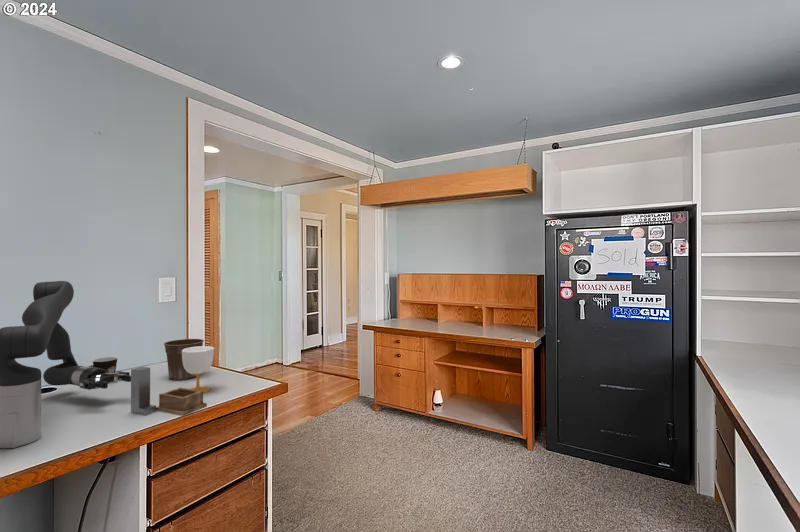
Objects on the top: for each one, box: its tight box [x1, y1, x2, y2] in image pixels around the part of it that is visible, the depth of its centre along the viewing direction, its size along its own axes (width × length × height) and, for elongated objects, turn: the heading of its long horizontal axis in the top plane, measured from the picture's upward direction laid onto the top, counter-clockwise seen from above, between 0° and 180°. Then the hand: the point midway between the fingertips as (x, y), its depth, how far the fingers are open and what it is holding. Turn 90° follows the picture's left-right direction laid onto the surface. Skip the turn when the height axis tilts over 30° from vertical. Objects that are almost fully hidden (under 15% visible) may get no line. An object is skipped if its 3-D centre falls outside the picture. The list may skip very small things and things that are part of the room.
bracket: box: [130, 366, 157, 416], centre depth 137 cm, size 4×7×15 cm, turn 69°
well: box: [156, 387, 208, 416], centre depth 141 cm, size 10×13×6 cm
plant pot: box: [163, 338, 205, 381], centre depth 181 cm, size 16×16×16 cm
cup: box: [182, 345, 215, 394], centre depth 160 cm, size 12×12×17 cm
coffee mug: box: [88, 356, 118, 381], centre depth 170 cm, size 12×9×10 cm
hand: (119, 382), depth 141 cm, fingers open, 8 cm apart
